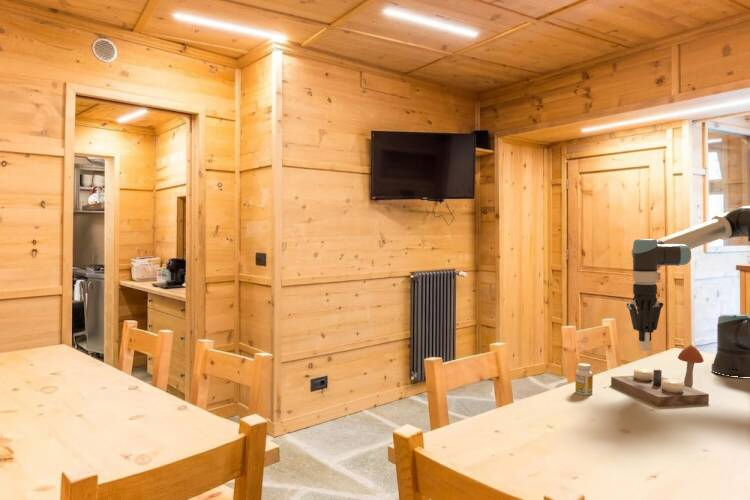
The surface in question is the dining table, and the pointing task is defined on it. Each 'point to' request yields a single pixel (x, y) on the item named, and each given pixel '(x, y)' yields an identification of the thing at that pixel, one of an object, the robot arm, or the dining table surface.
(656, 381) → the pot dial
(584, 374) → the supplement bottle
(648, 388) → the console
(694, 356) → the mushroom
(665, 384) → the knob
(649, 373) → the knob
